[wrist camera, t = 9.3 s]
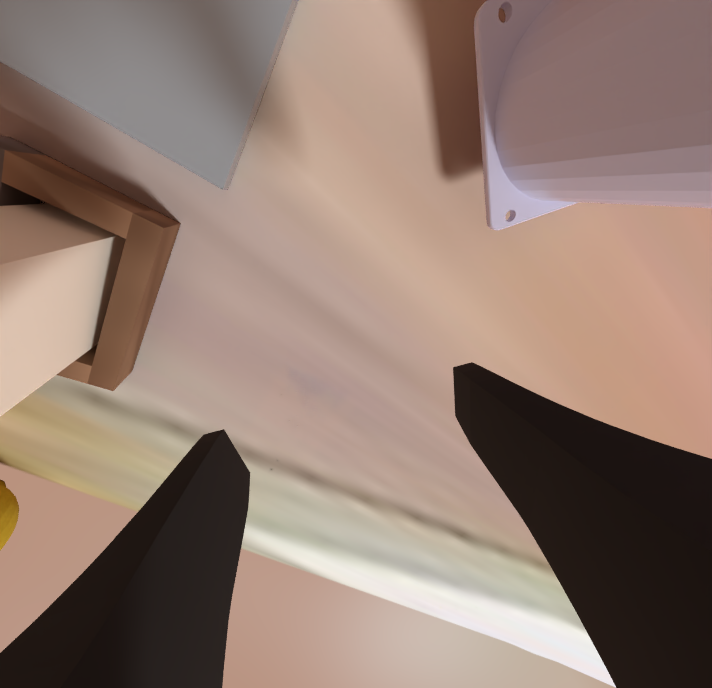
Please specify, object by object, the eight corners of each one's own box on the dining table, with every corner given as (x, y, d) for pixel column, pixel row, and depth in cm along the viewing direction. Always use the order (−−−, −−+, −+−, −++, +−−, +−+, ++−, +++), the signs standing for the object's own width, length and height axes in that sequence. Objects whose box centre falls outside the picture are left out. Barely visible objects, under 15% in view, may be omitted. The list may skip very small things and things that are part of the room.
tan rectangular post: (126, 233, 14) (-42, 275, 7) (109, 334, 16) (-34, 441, 9) (51, 203, 13) (-229, 217, 6) (43, 315, 15) (-171, 419, 8)
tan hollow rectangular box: (180, 223, 14) (163, 228, 13) (132, 371, 18) (113, 390, 16) (10, 137, 12) (-39, 128, 10) (-10, 326, 15) (-51, 344, 13)
